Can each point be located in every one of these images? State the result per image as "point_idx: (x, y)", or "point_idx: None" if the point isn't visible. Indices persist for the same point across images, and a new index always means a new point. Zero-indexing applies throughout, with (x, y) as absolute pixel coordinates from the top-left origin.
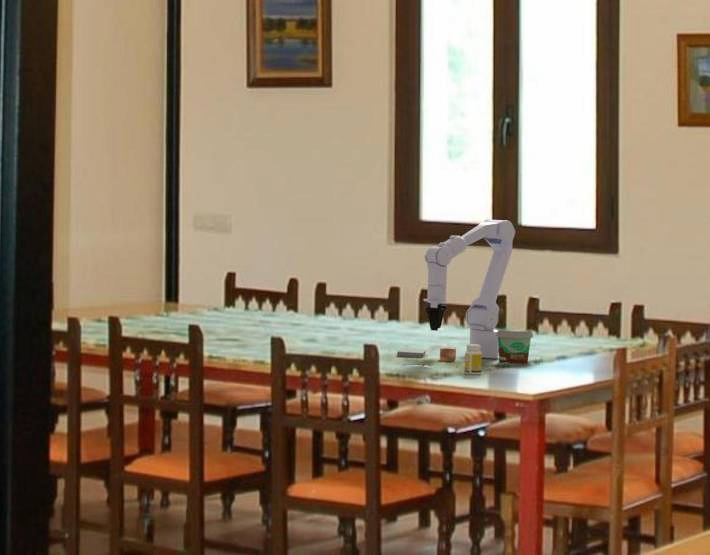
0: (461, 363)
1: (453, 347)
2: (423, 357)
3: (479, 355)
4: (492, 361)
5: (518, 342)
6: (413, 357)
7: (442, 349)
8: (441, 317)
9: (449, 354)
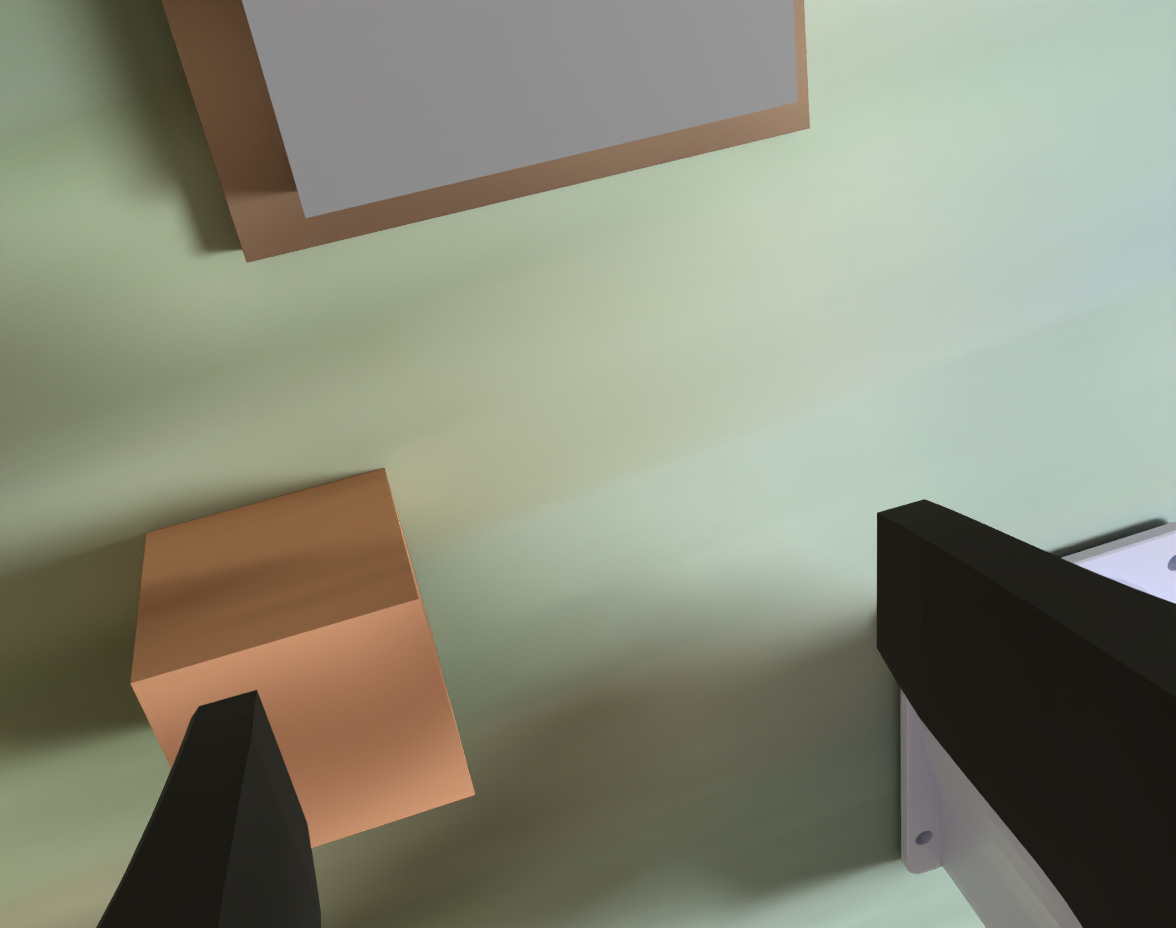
0: None
1: (430, 776)
2: None
3: None
4: (695, 905)
5: None
6: (221, 7)
7: (149, 702)
8: (1063, 868)
9: None
